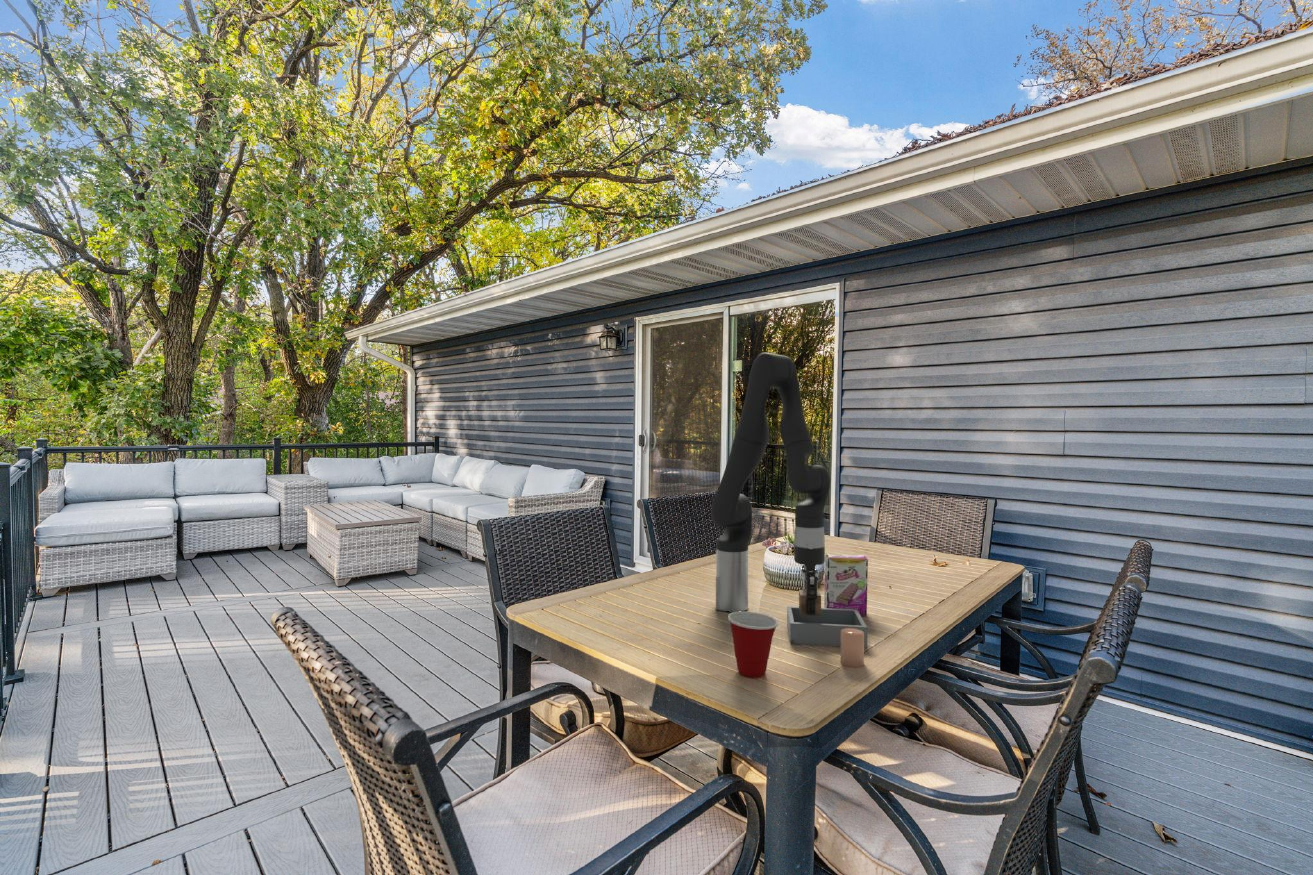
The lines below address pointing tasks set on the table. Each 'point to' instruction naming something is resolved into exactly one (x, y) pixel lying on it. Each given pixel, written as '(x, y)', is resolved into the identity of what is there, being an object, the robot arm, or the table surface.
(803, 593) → the walnut cube
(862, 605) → the candy bar box
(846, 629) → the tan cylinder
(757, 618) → the plastic cup
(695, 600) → the table surface
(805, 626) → the gray tote
